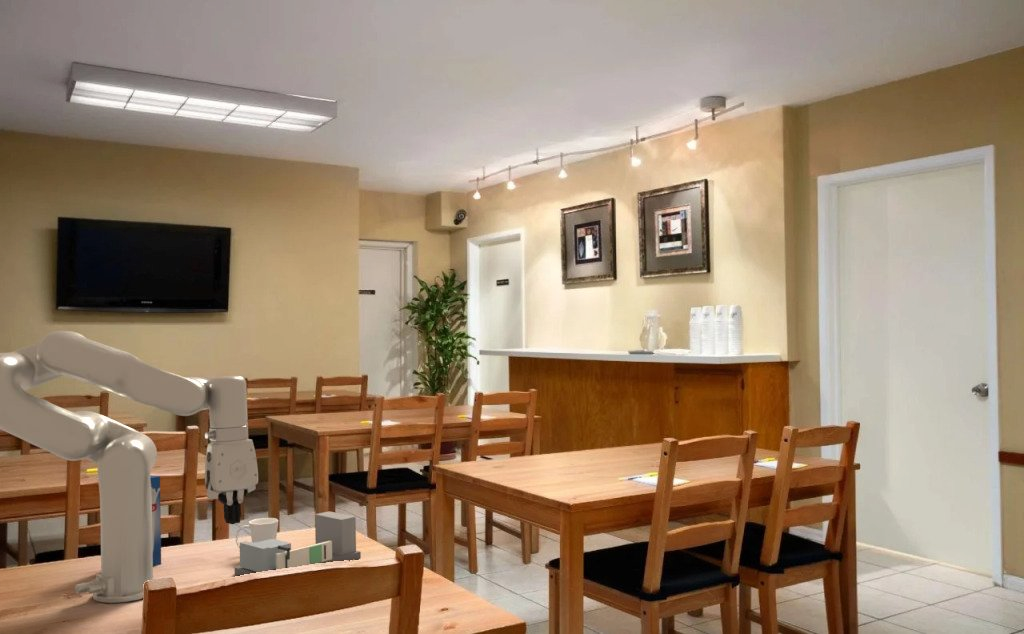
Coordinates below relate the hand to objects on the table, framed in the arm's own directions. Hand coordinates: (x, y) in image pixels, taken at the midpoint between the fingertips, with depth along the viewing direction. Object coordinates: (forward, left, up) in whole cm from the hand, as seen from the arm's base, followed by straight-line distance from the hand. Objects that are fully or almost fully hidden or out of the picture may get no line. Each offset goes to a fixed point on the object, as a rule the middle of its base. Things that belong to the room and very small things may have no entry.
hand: (232, 522), depth 176 cm
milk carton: (-7, +30, -13) cm, 34 cm away
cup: (+16, +16, -13) cm, 26 cm away
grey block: (+8, -1, -11) cm, 14 cm away
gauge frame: (+17, 0, -13) cm, 21 cm away
